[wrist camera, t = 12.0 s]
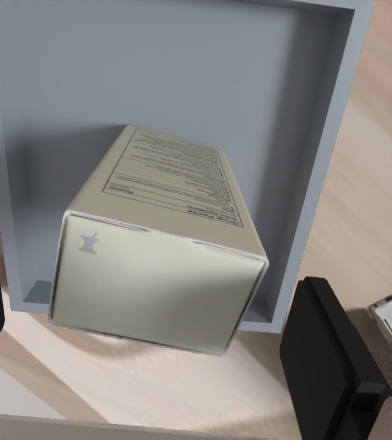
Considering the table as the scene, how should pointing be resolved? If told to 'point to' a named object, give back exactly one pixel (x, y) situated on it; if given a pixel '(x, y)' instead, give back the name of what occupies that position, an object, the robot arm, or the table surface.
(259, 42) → the tray
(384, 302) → the laptop
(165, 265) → the skincare box
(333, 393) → the robot arm
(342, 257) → the table surface
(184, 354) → the table surface
